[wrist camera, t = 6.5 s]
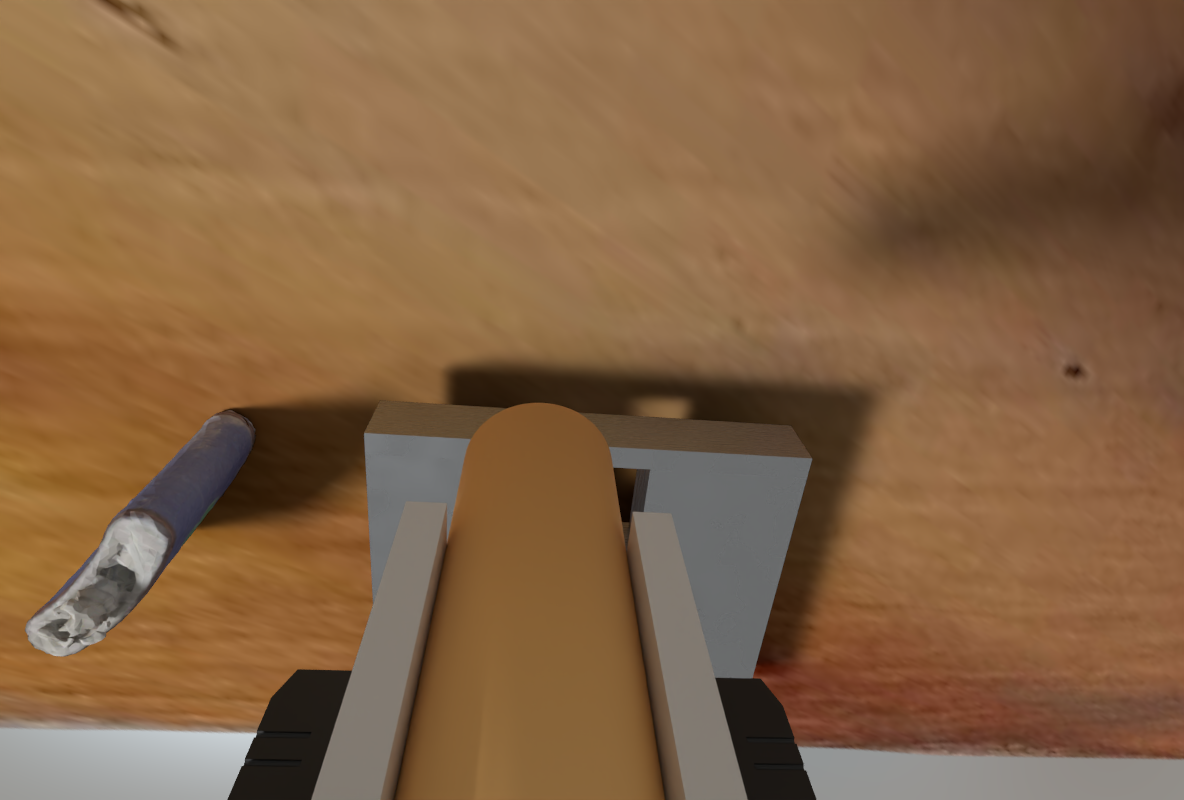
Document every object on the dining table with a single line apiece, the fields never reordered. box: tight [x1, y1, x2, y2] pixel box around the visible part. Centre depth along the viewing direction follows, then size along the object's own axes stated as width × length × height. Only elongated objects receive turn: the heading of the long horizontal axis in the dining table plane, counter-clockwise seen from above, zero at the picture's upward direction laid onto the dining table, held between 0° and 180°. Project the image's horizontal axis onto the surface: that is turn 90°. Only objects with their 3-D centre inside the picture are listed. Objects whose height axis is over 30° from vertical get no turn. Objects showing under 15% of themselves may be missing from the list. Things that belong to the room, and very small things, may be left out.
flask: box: [25, 410, 256, 656], centre depth 31 cm, size 9×3×11 cm, turn 136°
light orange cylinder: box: [394, 403, 665, 800], centre depth 10 cm, size 4×4×16 cm
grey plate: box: [364, 400, 812, 678], centre depth 35 cm, size 22×19×10 cm
